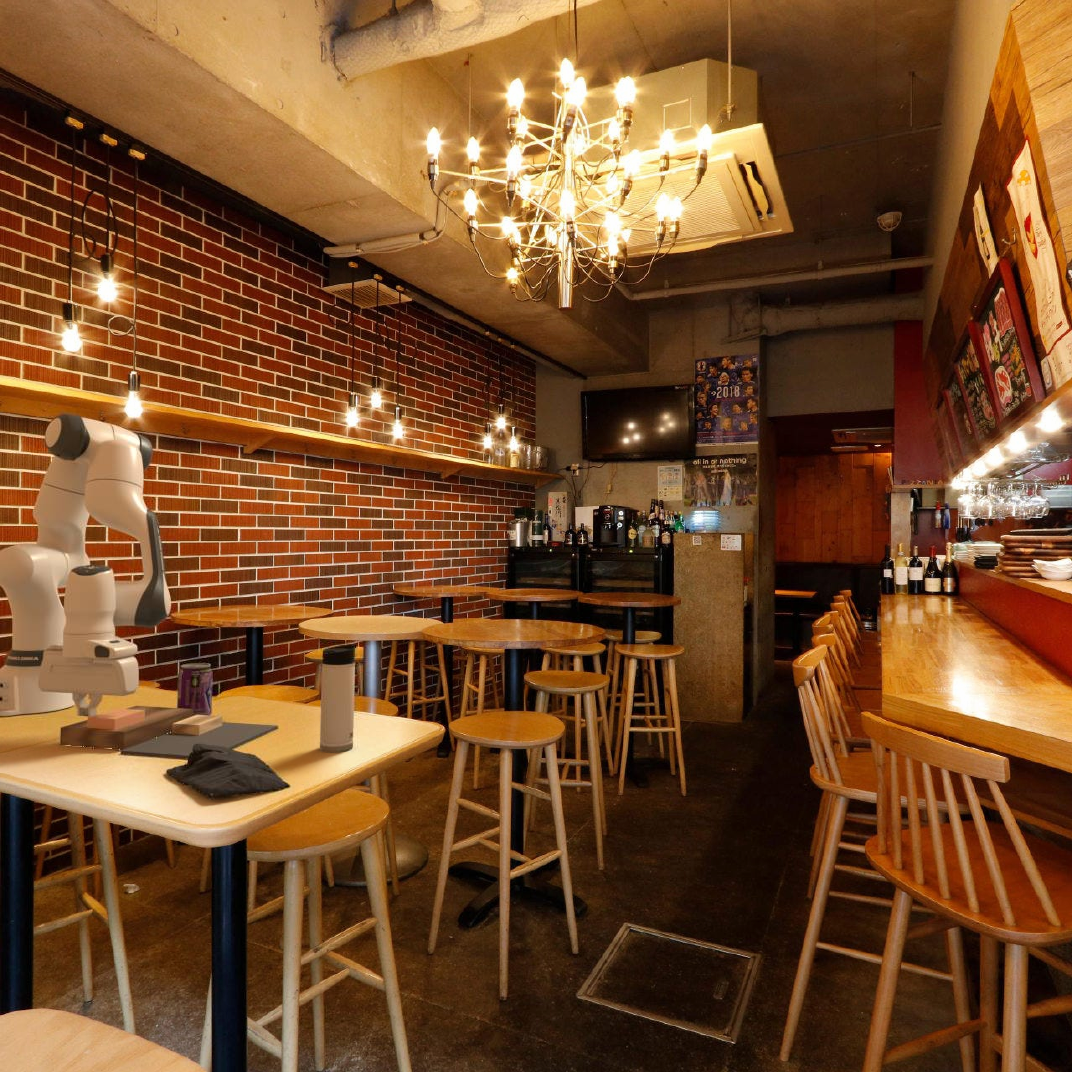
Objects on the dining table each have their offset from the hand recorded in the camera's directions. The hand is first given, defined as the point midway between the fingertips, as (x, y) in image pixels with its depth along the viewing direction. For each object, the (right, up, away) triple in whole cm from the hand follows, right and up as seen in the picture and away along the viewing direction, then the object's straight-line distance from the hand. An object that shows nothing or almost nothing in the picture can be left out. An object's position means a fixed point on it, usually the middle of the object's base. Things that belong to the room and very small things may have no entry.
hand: (87, 715), depth 141 cm
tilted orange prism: (+7, -1, -1) cm, 7 cm away
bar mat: (+23, -5, +1) cm, 24 cm away
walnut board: (+6, -5, +4) cm, 9 cm away
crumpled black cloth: (+38, -6, -23) cm, 45 cm away
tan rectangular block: (+19, -5, +7) cm, 21 cm away
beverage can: (+12, -6, +19) cm, 23 cm away
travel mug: (+51, -6, -3) cm, 51 cm away
